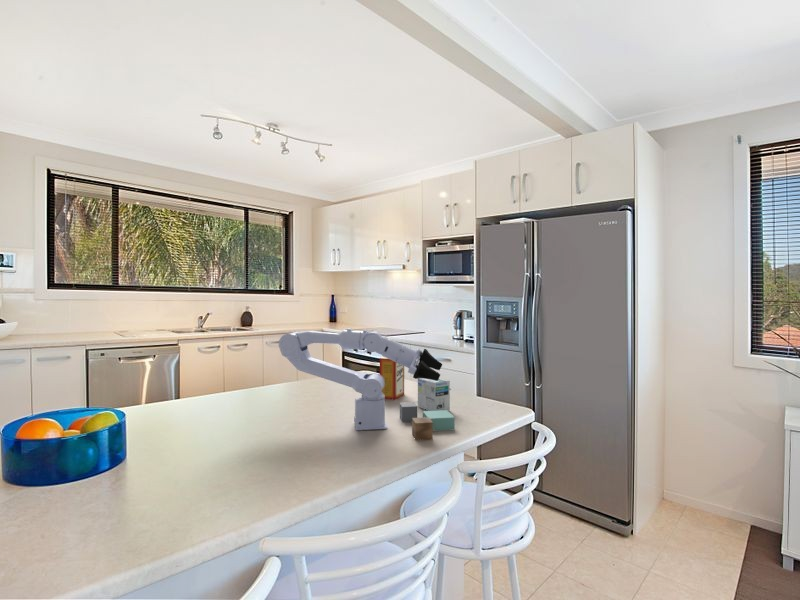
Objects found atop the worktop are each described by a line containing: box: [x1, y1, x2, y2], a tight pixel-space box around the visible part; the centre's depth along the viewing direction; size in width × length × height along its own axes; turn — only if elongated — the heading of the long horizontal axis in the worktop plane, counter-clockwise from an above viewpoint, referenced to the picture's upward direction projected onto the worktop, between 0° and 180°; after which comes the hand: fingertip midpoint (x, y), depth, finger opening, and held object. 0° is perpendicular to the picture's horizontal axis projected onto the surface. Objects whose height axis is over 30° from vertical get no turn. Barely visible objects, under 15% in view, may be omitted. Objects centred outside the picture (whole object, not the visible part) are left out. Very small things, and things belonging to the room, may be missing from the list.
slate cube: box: [399, 401, 418, 423], centre depth 140 cm, size 5×5×5 cm
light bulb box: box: [417, 377, 451, 412], centre depth 152 cm, size 11×7×11 cm, turn 34°
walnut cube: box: [411, 416, 434, 441], centre depth 123 cm, size 5×5×5 cm
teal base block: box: [422, 410, 456, 431], centre depth 133 cm, size 8×8×4 cm
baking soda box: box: [379, 356, 405, 401], centre depth 170 cm, size 10×6×16 cm
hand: (440, 372), depth 131 cm, fingers open, 7 cm apart
